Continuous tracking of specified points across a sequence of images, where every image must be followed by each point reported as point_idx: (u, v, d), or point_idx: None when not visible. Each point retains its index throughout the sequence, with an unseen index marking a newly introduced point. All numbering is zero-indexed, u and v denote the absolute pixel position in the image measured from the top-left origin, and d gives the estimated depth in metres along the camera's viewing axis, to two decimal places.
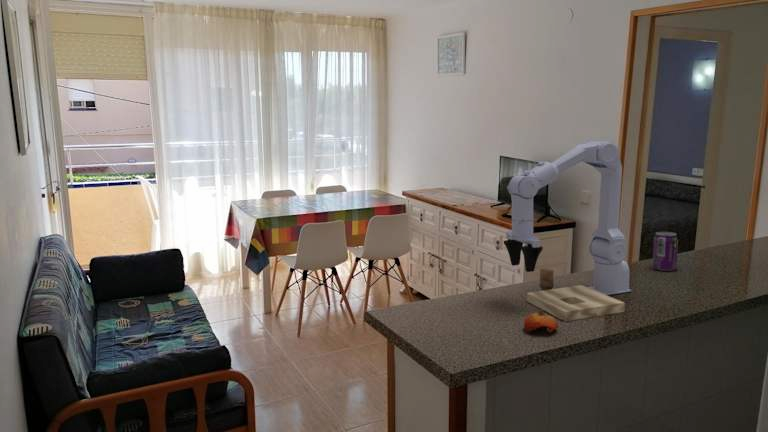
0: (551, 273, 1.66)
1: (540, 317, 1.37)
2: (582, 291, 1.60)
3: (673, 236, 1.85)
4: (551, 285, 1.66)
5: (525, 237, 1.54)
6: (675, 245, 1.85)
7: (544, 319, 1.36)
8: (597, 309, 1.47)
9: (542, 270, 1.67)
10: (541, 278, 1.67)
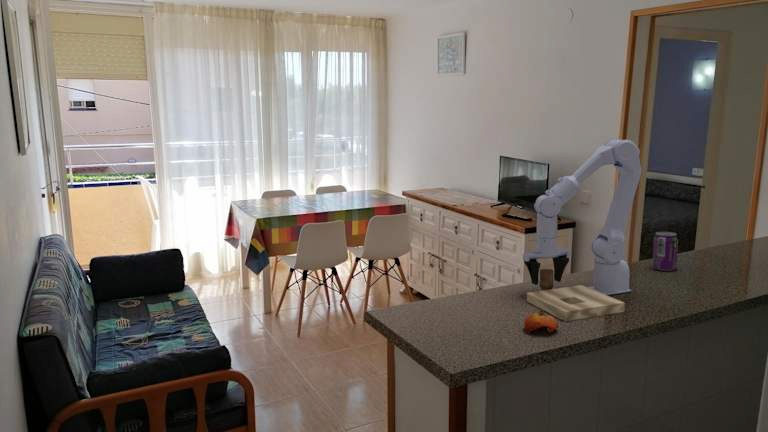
0: (551, 273, 1.66)
1: (540, 317, 1.37)
2: (582, 291, 1.60)
3: (673, 236, 1.85)
4: (551, 285, 1.66)
5: (536, 252, 1.66)
6: (675, 245, 1.85)
7: (544, 319, 1.36)
8: (597, 309, 1.47)
9: (542, 270, 1.67)
10: (541, 278, 1.67)
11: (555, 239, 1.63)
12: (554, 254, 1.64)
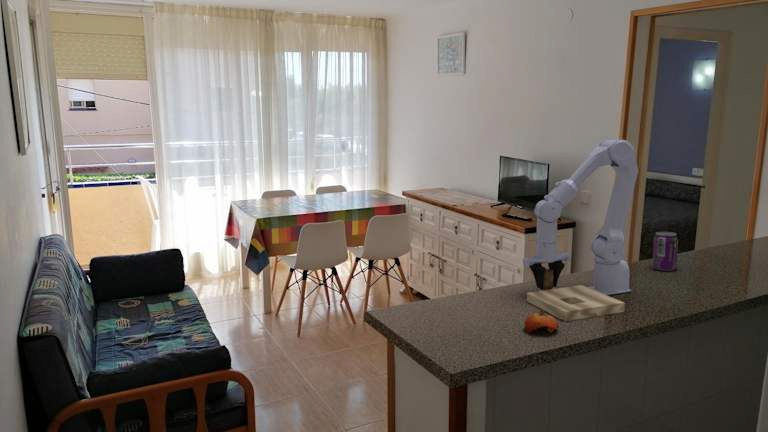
0: (551, 273, 1.66)
1: (541, 317, 1.37)
2: (582, 291, 1.60)
3: (673, 236, 1.85)
4: (551, 285, 1.66)
5: (536, 256, 1.66)
6: (675, 245, 1.85)
7: (545, 319, 1.36)
8: (597, 309, 1.47)
9: None
10: None
11: (555, 244, 1.64)
12: (554, 259, 1.64)
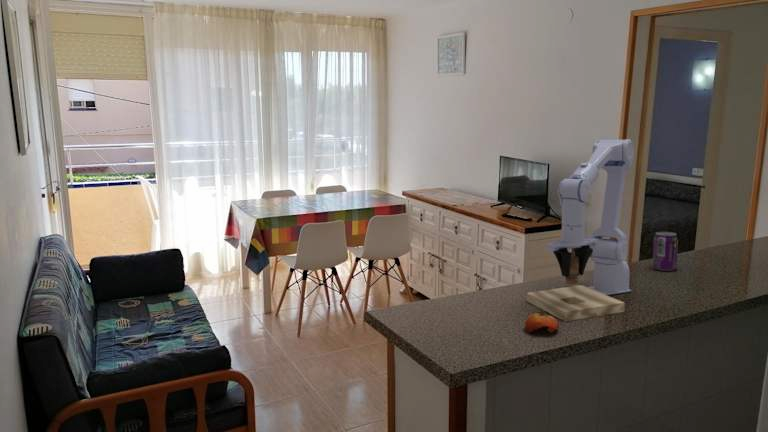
0: (576, 259, 1.50)
1: (541, 317, 1.37)
2: (582, 291, 1.60)
3: (673, 236, 1.85)
4: (577, 273, 1.51)
5: (562, 241, 1.50)
6: (675, 245, 1.85)
7: (545, 319, 1.36)
8: (597, 309, 1.47)
9: None
10: None
11: (583, 227, 1.48)
12: (582, 243, 1.48)
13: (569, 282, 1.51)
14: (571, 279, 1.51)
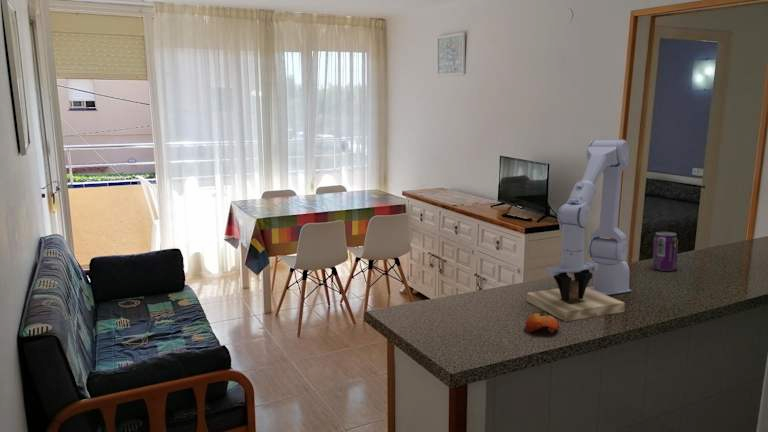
0: (576, 284, 1.51)
1: (541, 317, 1.37)
2: None
3: (673, 236, 1.85)
4: (576, 297, 1.52)
5: (561, 265, 1.51)
6: (675, 245, 1.85)
7: (545, 319, 1.36)
8: (597, 309, 1.47)
9: None
10: None
11: (582, 252, 1.49)
12: (581, 268, 1.49)
13: None
14: None
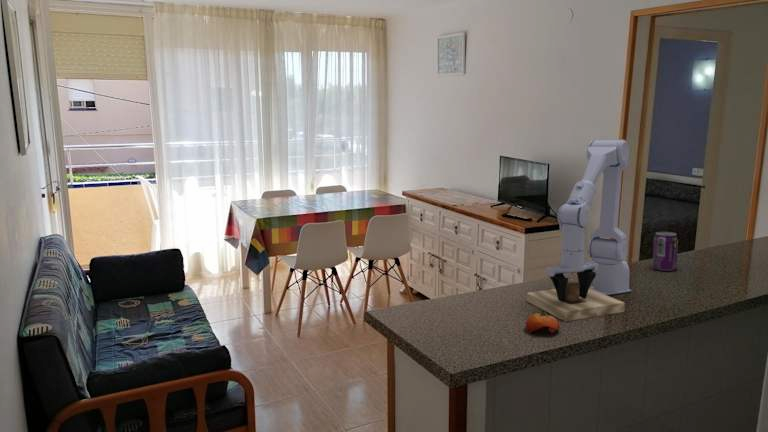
0: (577, 286, 1.51)
1: (542, 317, 1.37)
2: None
3: (673, 236, 1.85)
4: (577, 300, 1.52)
5: (561, 265, 1.51)
6: (675, 245, 1.85)
7: (546, 319, 1.36)
8: (597, 309, 1.47)
9: (567, 283, 1.53)
10: (566, 292, 1.52)
11: (582, 252, 1.49)
12: (581, 268, 1.49)
13: None
14: None
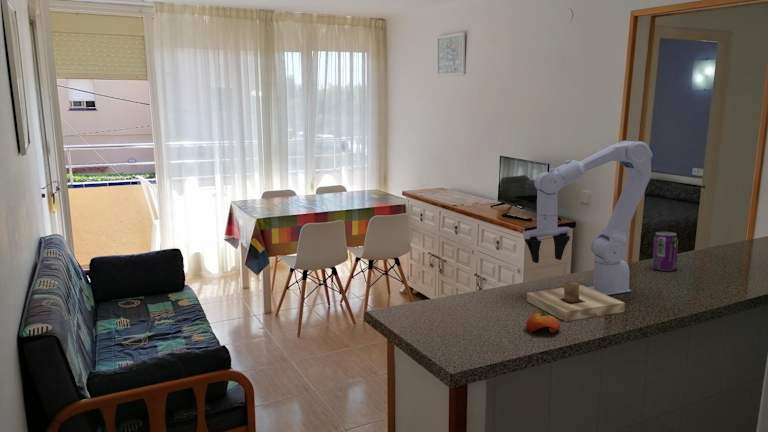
0: (577, 287, 1.51)
1: (542, 317, 1.37)
2: (582, 291, 1.60)
3: (673, 236, 1.85)
4: (577, 300, 1.52)
5: (537, 229, 1.65)
6: (675, 245, 1.85)
7: (546, 319, 1.36)
8: (597, 309, 1.47)
9: (567, 284, 1.53)
10: (566, 293, 1.52)
11: (556, 216, 1.62)
12: (555, 232, 1.62)
13: None
14: None
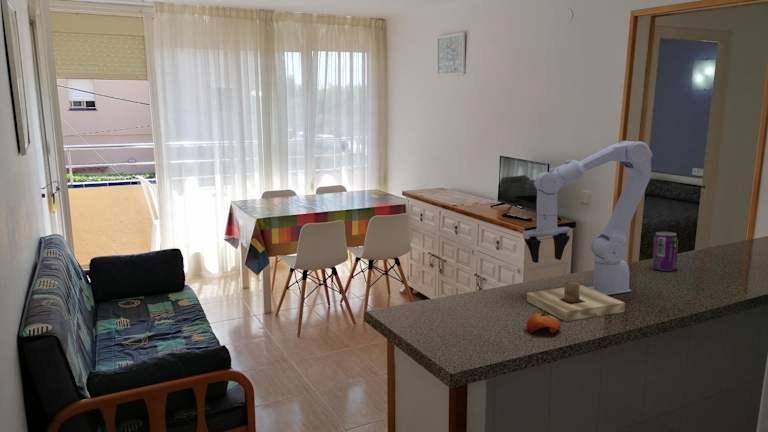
0: (577, 287, 1.51)
1: (543, 317, 1.36)
2: (582, 291, 1.60)
3: (673, 236, 1.85)
4: (577, 300, 1.52)
5: (536, 229, 1.65)
6: (675, 245, 1.85)
7: (547, 319, 1.36)
8: (597, 309, 1.47)
9: (567, 284, 1.53)
10: (566, 292, 1.52)
11: (555, 216, 1.62)
12: (554, 231, 1.63)
13: None
14: None
